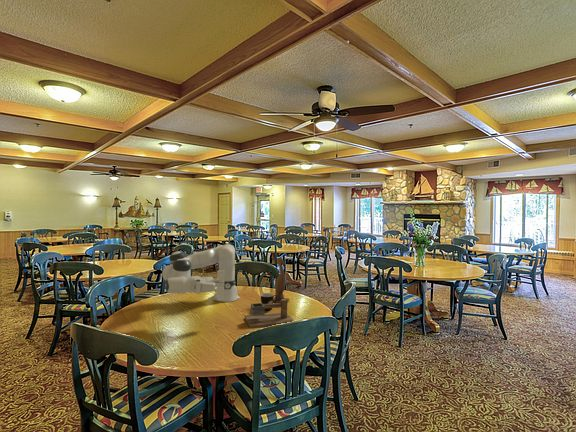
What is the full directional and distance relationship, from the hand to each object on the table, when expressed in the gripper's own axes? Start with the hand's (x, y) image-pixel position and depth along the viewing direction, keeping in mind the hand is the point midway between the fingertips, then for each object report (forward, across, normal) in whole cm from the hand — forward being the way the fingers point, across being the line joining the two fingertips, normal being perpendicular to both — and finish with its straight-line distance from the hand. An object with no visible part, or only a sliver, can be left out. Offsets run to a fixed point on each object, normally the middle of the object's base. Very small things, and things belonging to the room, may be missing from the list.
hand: (222, 283), depth 184 cm
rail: (-1, 0, -9) cm, 9 cm away
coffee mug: (+32, -20, -24) cm, 45 cm away
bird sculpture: (+43, -35, -24) cm, 61 cm away
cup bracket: (+27, 0, -24) cm, 36 cm away
